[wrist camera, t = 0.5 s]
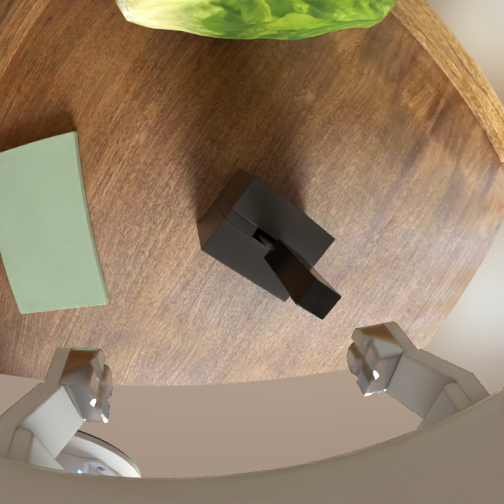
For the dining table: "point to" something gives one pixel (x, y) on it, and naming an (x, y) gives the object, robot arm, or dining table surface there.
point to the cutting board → (48, 227)
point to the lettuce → (256, 16)
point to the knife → (299, 277)
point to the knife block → (246, 223)
